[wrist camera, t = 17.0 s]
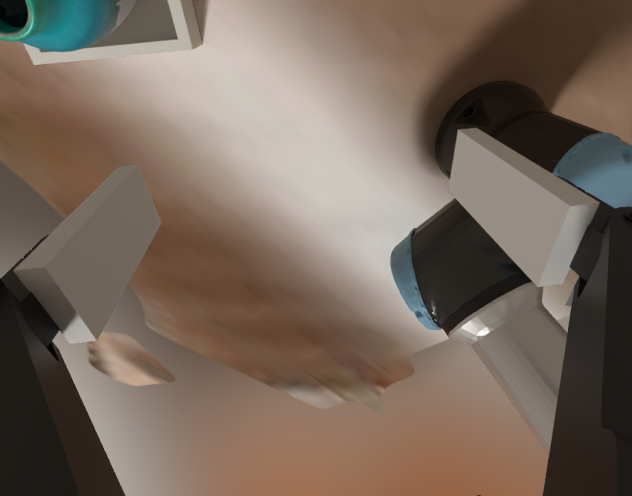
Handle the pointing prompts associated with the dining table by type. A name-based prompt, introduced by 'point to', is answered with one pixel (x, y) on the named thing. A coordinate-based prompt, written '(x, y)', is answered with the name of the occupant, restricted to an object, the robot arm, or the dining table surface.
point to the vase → (61, 22)
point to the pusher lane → (138, 34)
